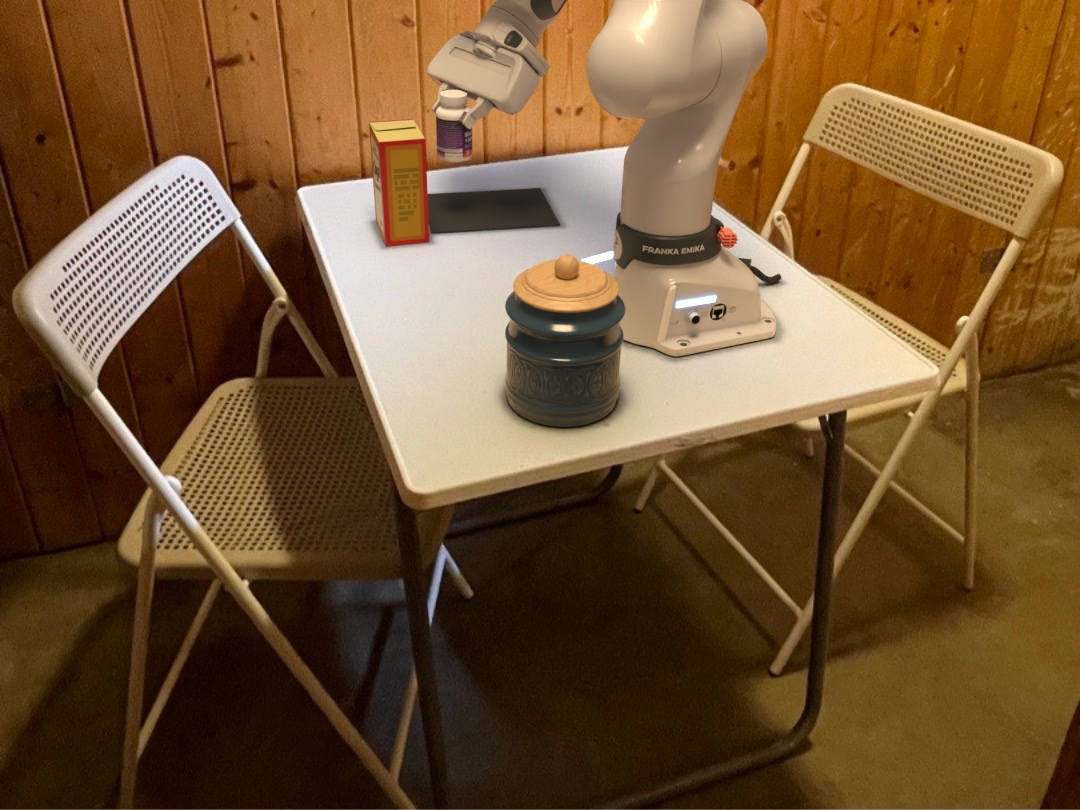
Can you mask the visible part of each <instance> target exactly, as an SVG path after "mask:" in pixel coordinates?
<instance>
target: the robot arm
mask: <svg viewBox="0 0 1080 810" xmlns="http://www.w3.org/2000/svg"><path fill="white" fill-rule="evenodd" d="M567 2H568V0H495V2H493V3H492V4H491V5H490V6H489V8H488V10H487V11H486V13H485V14H484V15H483V17H482V19H481V20H480V21H479V23H478V24H477V25H476V27H475V28H474V30H473V31H470V30H465V31H463V32H462V33H459V34H456V35H455V36H452V37H450V39H449V40H447V41H446V43H445V44H444V45H442V48H440V49H439V51H437V53H436V54H435V56H433V58H432V60H430V62H429V64H428V65H427V69H426V70H427V71H426V74H427V76H428V77H429V78H430V79H431V80H432V81H433V82H434V83H435V84H436V85H438V86H439V88H438V93H437V100H436V102H435V103H434V104H433V106H432V108H431V110H432V112H433V113H434V114H435V115H436V110H437V109H438V107H440V106H442V104H441V103H440V93H441V92H442V91H445V90H461V91H464V92H466V93H467V99H470V100H474V102H475V105H473V107H471V108H470V109H471V110H469V111H468V112H465V111H464V112H463V114H462V116H461V117H460V118H459V123H460V124H461V125H462V126H463V127H465V128H467V129H471V128H472V129H473V127H474V126H475V124H476V123H477V122H478V121H479V120H481V119H483V118H484V117H485V116H487V115H488V114H490V112H491V111H492V109H495V110H498V111H500V112H503V113H506V114H507V115H510V116H515V115H517V114H518V113H519V112H521V111H522V110H523V109H524V108H525V106H526V105H527V104H528V103H529V101H530V99H531V98H532V96H533V95H534V93H535V92H536V90H537V88H538V87H539V84H540V78H543V77H545V76H546V75H547V74H548V72H549V71H550V67H551V66H550V65H549V63H548V62H547V60H546V59H545V57H544V56H543V55H542V54H541V52H540V51H539V50H538V48H537V47H538V45H540V42H541V40H542V36H543V34H544V32H545V31H546V29H547V28H548V27H549V26H550V25H551V24H553V23H554V22H555V20H556V19H557V18H558V16H559V14H561V11H562V10H563V8H564V6H565V5H566V3H567ZM768 45H769V37H768V30H767V27H766V24H765V21H764V19H763V17H762V16H761V14H760V12H759V11H758V10H757V9H756V8H755V7H754V6H753V5H751V4H750V3H749V2H747V1H745V0H613V4H612V7H611V9H610V12H609V14H608V17H607V19H606V22H605V23H604V25H603V27H602V28H601V30H600V32H599V33H598V35H597V36H596V37H595V38H594V40H593V41H592V43H591V45H590V47H589V50H588V53H587V58H586V78H587V84H588V86H589V90H590V92H591V94H592V96H593V98H594V100H595V101H596V103H597V104H598V105H599V106H600V108H602V110H603V111H605V112H606V113H607V114H609V115H611V116H613V117H615V118H617V119H630V120H631V119H632V120H633V119H634V120H635V119H636V120H640V119H644V121H643V122H642V125H641V127H640V129H639V130H638V132H637V134H636V135H635V137H634V138H633V139H632V141H630V142H631V143H630V144H629V145H628V147H627V149H626V152H625V155H624V158H623V166H622V168H623V169H622V181H621V182H622V183H621V196H620V211H619V212H618V213H617V215H616V219H615V229H614V232H613V248H612V249H613V250H611V251H607V252H603V253H600V254H596V255H591V256H588V257H585V258H581V260H580V261H584V262H587V263H590V264H593V265H595V264H596V263H597V264H598V263H601V262H604V261H608V260H612V259H614V265H613V266H614V267H613V271H612V275H611V276H612V277H613V278H614V279H615V280H616V281H617V283H618V285H619V293H618V295H619V296H620V297H621V299H622V300H623V302H624V304H625V308H626V311H625V315H624V317H623V319H622V320H621V321H620V326H621V328H622V330H623V335H624V338H623V341H626V342H629V343H632V344H634V345H639V346H644V347H647V348H652V349H655V350H657V351H659V352H661V353H663V354H665V355H668V356H671V357H683V356H687V355H692V354H698V353H702V352H708V351H713V350H718V349H722V348H726V347H727V348H729V347H732V346H737V345H742V344H747V343H752V342H757V341H762V340H766V339H771V338H774V337H775V334H776V332H777V320H776V317H775V315H774V313H773V311H772V309H771V308H770V307H769V305H768V304H767V303H766V302H765V301H764V300H763V299H762V297H761V296H762V295H761V289H760V285H759V282H758V280H757V279H759V280H760V281H762V282H763V283H766V284H775V283H777V282H779V281H781V280H782V275H781V274H780V273H777V274H774V275H773V276H768V275H766V274H765V273H764V272H763V271H761V270H760V269H759V268H757V267H756V266H754V265H752V258H744V257H737V256H736V255H734V254H733V253H732V252H731V251H730V250H729V249H731V248H734V247H735V245H737V243H738V240H739V239H738V235H737V234H736V233H735V232H734V231H733V229H732V228H730V227H725V225H724V223H723V222H722V221H721V220H720V219H718V218H717V217H715V216H713V214H712V213H713V205H714V196H715V192H716V191H715V189H716V183H717V175H718V169H719V166H720V165H719V164H720V160H721V156H722V153H723V149H724V146H725V143H726V140H727V137H728V135H729V132H730V130H731V129H730V128H731V126H732V123H733V120H734V118H735V115H736V113H737V111H738V110H737V109H738V108H739V105H740V102H741V100H742V98H743V95H744V93H745V91H746V89H747V87H748V85H750V82H751V80H752V79H753V77H754V76H756V73H757V72H758V71H759V70H760V69H761V67H762V65H763V63H764V62H765V59H766V56H767V52H768Z"/></svg>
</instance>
